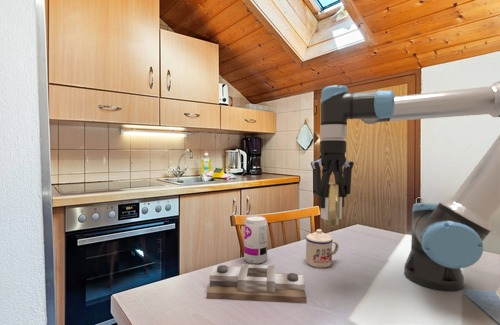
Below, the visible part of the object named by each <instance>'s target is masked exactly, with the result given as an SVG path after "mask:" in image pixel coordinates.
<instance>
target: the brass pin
mask: <svg viewBox="0 0 500 325" xmlns="http://www.w3.org/2000/svg"><path fill="white" fill-rule="evenodd" d="M326 197H327V198H329V204H328V220H324V219H323V224H325V225H327V226H338V225H339V219H338V207H339V184H337V183H335V182H329V185H328V190H327V195H326Z"/></svg>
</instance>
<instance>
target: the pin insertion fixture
mask: <svg viewBox="0 0 500 325" xmlns="http://www.w3.org/2000/svg"><path fill="white" fill-rule="evenodd" d="M305 285H306V284H305V280H304V275H303V274H301V273H294V272H290V273H285V272H284V273H282V272H281V273H280V272H276V266H275V265H271V264H270V265H268V264H266V265H265V264H246V263H245V264H244V263H243V264H241V266H228V265H224V264H222V265H221V264H220V265H214V266H213V268H212V270H211V272H210V273H209V286H208V288H207V291H206V299H220V300H221V299H222V300H224V299H225V300H241V301H260V302H263V301H264V302H284V303H299V304H300V303H302V304H303V303H304V304H307V293H306V289H305V288H306V286H305Z"/></svg>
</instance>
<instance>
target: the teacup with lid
mask: <svg viewBox="0 0 500 325" xmlns="http://www.w3.org/2000/svg"><path fill="white" fill-rule="evenodd" d="M305 240H306V241H305V244H306V245H305V248H306V250H305V251H306V252H305V258H306V259H305V260H306V264H308V265H309V266H312V267H314V268H321V269H323V268H329V267H331V266H332V264H333V263H332V262H333V261H332V260H333V259H332V258H333V255H336V254H337V253H338V251H339V247H340V246H339V243H338V242H337V241H335V240H334V239H333V237H332V236H331V235H329V234H326V233H325V232H323V230H322V229H320V228H318V229H316V231H314V232H312V233H308V234H307V235H306V236H305ZM333 244H335V247H334V249H333Z"/></svg>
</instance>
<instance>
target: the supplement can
mask: <svg viewBox="0 0 500 325" xmlns="http://www.w3.org/2000/svg"><path fill="white" fill-rule="evenodd" d="M243 223H244V224H243V225H244V226H243V228H244V229H243V240H244V241H243V250H244V251H243V253H244V254H243V259H244V260H245V261H246V263H248V264H251V265H261V264H263V263H265V262H266V261H267V260H268V221H267V219H266V217H264V216H259V215H252V216H247V217H246V218H245V220H244V222H243Z"/></svg>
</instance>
